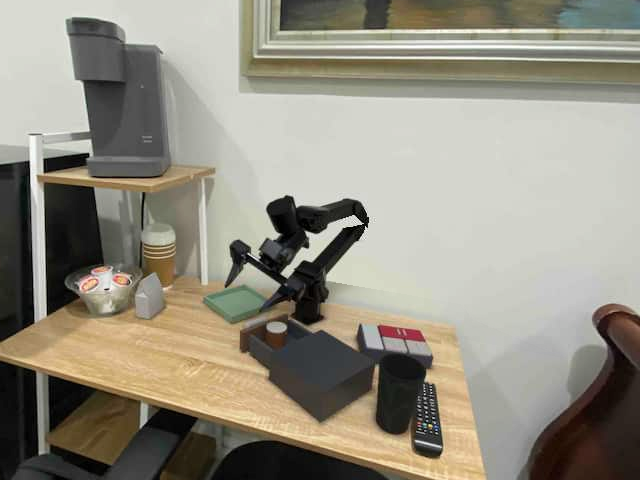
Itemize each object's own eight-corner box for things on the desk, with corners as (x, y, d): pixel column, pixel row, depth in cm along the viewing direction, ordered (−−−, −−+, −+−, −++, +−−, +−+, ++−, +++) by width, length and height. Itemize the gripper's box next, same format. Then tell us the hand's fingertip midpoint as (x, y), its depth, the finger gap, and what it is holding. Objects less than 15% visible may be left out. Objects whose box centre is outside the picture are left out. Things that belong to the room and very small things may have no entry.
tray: (244, 289, 117) (244, 283, 117) (274, 308, 107) (275, 301, 107) (203, 302, 108) (203, 295, 108) (231, 323, 98) (231, 316, 98)
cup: (364, 407, 73) (373, 353, 69) (404, 406, 74) (415, 352, 69) (377, 440, 66) (388, 381, 61) (421, 438, 66) (434, 381, 62)
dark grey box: (268, 379, 79) (270, 352, 76) (319, 354, 88) (321, 329, 86) (320, 423, 69) (324, 392, 66) (371, 389, 78) (376, 361, 75)
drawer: (228, 340, 90) (229, 322, 88) (273, 323, 98) (274, 306, 96) (278, 380, 77) (279, 360, 76) (324, 357, 86) (327, 338, 84)
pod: (276, 336, 90) (277, 319, 89) (289, 345, 87) (291, 327, 86) (261, 342, 88) (262, 325, 86) (274, 352, 84) (275, 334, 83)
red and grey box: (435, 355, 84) (365, 345, 84) (430, 371, 85) (361, 362, 86) (421, 328, 94) (359, 320, 94) (417, 343, 95) (356, 335, 96)
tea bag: (163, 307, 104) (161, 273, 101) (149, 319, 98) (146, 283, 95) (151, 305, 105) (149, 270, 102) (136, 316, 99) (133, 280, 96)
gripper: (252, 206, 83) (203, 257, 77) (325, 253, 79) (280, 311, 72) (252, 233, 93) (209, 280, 86) (317, 276, 88) (277, 329, 82)
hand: (242, 299), depth 81 cm, fingers open, 9 cm apart
